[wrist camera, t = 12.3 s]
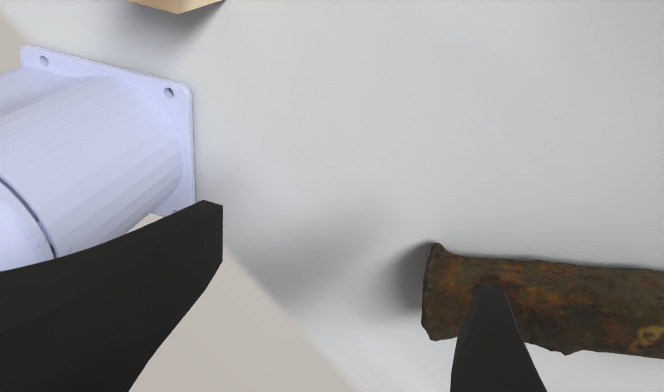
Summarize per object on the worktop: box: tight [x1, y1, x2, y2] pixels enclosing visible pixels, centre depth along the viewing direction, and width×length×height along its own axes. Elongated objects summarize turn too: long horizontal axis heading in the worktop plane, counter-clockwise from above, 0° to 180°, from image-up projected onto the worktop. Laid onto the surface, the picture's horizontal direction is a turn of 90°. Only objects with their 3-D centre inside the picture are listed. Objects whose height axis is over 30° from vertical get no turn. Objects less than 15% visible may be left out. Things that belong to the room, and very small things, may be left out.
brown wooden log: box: [421, 243, 664, 359], centre depth 19 cm, size 19×4×5 cm, turn 95°
